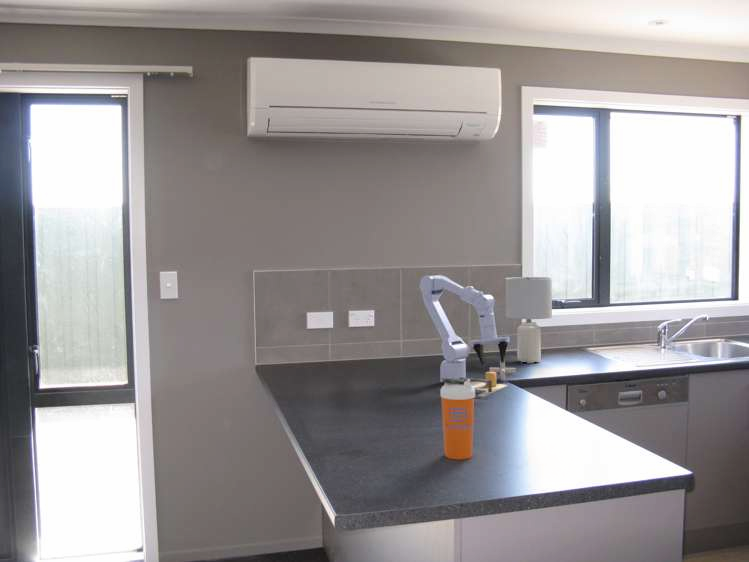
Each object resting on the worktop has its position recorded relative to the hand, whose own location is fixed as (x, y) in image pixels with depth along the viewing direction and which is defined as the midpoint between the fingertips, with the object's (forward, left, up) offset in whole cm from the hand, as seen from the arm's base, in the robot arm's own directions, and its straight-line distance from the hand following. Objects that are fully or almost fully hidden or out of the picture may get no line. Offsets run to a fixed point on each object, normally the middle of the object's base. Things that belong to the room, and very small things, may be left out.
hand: (492, 363), depth 261 cm
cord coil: (-1, 0, -9) cm, 9 cm away
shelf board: (-3, -5, -10) cm, 11 cm away
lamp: (-11, +63, -10) cm, 65 cm away
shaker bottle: (+26, -79, -10) cm, 84 cm away
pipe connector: (-2, +13, -10) cm, 16 cm away
